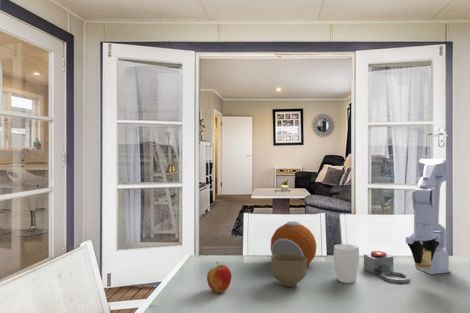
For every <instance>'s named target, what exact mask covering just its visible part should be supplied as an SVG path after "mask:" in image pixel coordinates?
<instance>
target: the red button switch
mask: <svg viewBox="0 0 470 313" xmlns="http://www.w3.org/2000/svg"><path fill="white" fill-rule="evenodd" d="M363 270H364V271H366V272H368V273H370V274H372V275H380V277H379V278H380V279H382V280H384V281H385V282H388V283H395V284H400V285H401V284H405V283H407V284H408V283H410V279H411V278H410V275H409V274H407V273H405V272H401V271H397V270H396V271H395V270H394V256H393V255H390V254H387V253H386V252H385V251H382V250H381V251H380V250H372V251H370V253H364V254H363ZM389 276H396V277H397V276H398V277H401V278H395V277H389Z"/></svg>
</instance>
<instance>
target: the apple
mask: <svg viewBox="0 0 470 313" xmlns="http://www.w3.org/2000/svg"><path fill="white" fill-rule="evenodd" d="M218 263H219V262H218V261H216V265H217V266H215V267H213V268H210V270H209V271H208V272H207V275H206V281H207V285H208V287H209V288H210V290H211V291H212V292H214V293H216V294H222V293H224V292H226V291H227V290H228V288H229V287H230V285H231V283H232V272H231V270H230V268H229V267H228V266H226V265H225V264H218Z"/></svg>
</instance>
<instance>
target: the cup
mask: <svg viewBox="0 0 470 313" xmlns="http://www.w3.org/2000/svg"><path fill="white" fill-rule="evenodd" d="M333 260H334V261H333V262H334V268H335V275H336V280H337V281H339V282H341V283H344V284H352V283H356V281H357V276H358V268H359V262H360V247H358V246H357V245H354V244H349V243H348V244H347V243H339V244H335V245H334V246H333Z"/></svg>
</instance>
